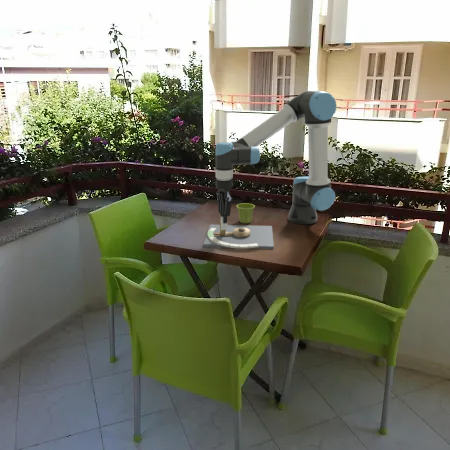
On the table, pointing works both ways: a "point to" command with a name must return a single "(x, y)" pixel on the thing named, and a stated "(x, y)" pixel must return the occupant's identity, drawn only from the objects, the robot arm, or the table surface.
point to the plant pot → (245, 212)
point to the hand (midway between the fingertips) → (224, 229)
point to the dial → (235, 232)
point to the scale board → (258, 237)
